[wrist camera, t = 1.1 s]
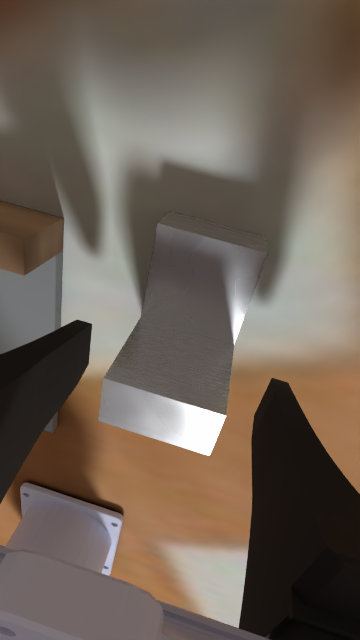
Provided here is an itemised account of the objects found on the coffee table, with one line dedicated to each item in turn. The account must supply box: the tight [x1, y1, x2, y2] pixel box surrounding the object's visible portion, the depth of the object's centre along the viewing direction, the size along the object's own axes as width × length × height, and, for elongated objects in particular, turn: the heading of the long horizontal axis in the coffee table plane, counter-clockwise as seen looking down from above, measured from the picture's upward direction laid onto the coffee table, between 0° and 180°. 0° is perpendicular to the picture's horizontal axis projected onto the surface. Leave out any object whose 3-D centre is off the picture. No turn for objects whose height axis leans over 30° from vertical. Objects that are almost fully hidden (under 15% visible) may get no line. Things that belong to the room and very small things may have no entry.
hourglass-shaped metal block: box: [98, 211, 268, 456], centre depth 13 cm, size 6×4×6 cm, turn 168°
